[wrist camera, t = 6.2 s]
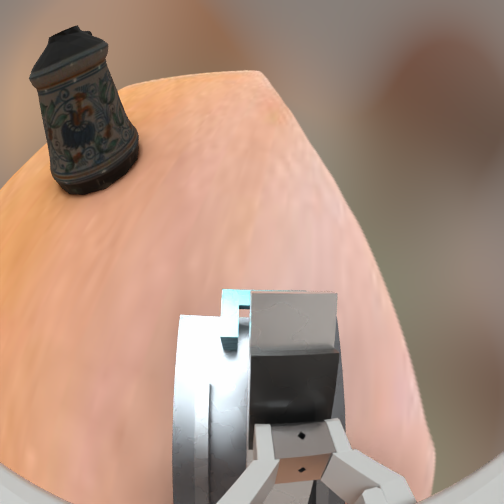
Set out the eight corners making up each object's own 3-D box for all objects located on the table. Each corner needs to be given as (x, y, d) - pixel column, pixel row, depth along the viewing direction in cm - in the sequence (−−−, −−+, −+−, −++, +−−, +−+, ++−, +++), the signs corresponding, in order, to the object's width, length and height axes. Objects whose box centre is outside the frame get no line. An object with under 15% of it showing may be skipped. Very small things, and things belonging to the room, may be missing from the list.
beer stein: (62, 213, 34) (-4, 70, 13) (55, 156, 42) (18, 51, 21) (154, 165, 39) (128, 11, 19) (124, 121, 48) (105, 13, 27)
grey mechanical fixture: (186, 553, 12) (170, 592, 5) (187, 322, 27) (170, 286, 20) (326, 548, 13) (356, 582, 6) (323, 324, 27) (353, 289, 20)
